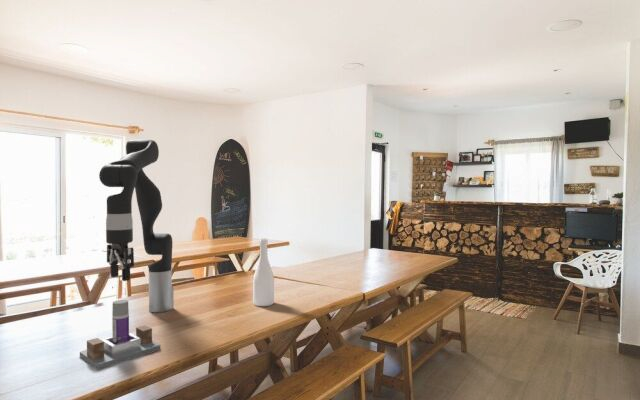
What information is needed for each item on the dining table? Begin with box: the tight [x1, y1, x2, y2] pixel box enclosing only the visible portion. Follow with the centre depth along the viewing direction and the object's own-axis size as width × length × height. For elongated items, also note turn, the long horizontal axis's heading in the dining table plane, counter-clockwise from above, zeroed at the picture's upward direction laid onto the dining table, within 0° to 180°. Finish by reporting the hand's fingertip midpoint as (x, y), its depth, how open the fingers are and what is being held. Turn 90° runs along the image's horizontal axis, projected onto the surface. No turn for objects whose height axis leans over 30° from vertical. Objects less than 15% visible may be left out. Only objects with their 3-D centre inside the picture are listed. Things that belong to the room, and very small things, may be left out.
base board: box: [79, 340, 161, 371], centre depth 124 cm, size 19×14×2 cm
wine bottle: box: [252, 238, 275, 307], centre depth 178 cm, size 10×10×30 cm
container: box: [111, 299, 130, 345], centre depth 124 cm, size 5×5×15 cm
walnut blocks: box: [86, 324, 153, 360], centre depth 124 cm, size 18×5×4 cm, turn 140°
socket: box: [100, 332, 141, 356], centre depth 124 cm, size 9×9×3 cm
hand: (120, 278), depth 123 cm, fingers open, 8 cm apart
